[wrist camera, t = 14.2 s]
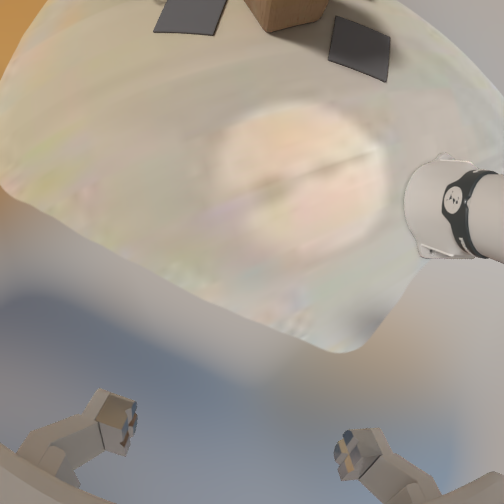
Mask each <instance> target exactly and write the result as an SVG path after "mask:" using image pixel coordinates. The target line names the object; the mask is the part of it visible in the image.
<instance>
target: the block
mask: <svg viewBox="0 0 504 504" xmlns="http://www.w3.org/2000/svg"><path fill="white" fill-rule="evenodd" d="M244 1H245V3H246V4H247V5H248V7H249V8H250V10H251V11H252V13H253V14H254V16H255V17H256V19H257V20H258V22H259V23H260V25H261V26H262V28H263V29H264V30H265V31H266V32H273V31H277V30H280V29H284V28H288V27H292V26H296V25H301V24H305V23H310V22H315V21H317V20H319V19H320V18H321V16H322V14H323V12H324V10H325V8H326V6H327V4H328V2H329V0H244Z"/></svg>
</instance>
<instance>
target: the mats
mask: <svg viewBox="0 0 504 504" xmlns="http://www.w3.org/2000/svg"><path fill="white" fill-rule="evenodd" d="M225 3H226V0H167V2H166V4H165V6H164V8H163V10H162V13H161V15H160V17H159V19H158V21H157V24H156V26H155V28H154V31H153V32H154V33H187V34H201V35H211V36H213V34H214V31H215V29H216V26H217V23H218V21H219V18H220V15H221V13H222V10H223V8H224V5H225ZM389 48H390V37H388V36H386V35H384V34H382V33H379V32H377V31H375V30H373V29H370V28H368V27H365V26H363V25H360V24H358V23H355V22H353V21H350V20H347V19H344V18H342V17H339V16H336V18H335V24H334V30H333V36H332V41H331V47H330V52H329V57H328V60H329V61H332V62H335V63H338V64H340V65H343V66H346V67H349V68H351V69H354V70H357V71H359V72H362V73H364V74H367V75H369V76H372V77H374V78H376V79H379V80H381V81H383V82H386V80H387V71H388V60H389Z"/></svg>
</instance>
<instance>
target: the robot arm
mask: <svg viewBox="0 0 504 504" xmlns="http://www.w3.org/2000/svg"><path fill="white" fill-rule="evenodd" d="M404 211H405V217H406V221H407V224H408V227H409V229H410V231H411V232H412V234H413V236H414V237H415V239H416V241H417V247H418V252H419V255H420V256H421V257H423V258H446V259H473V258H475V257H478V258H484V259H486V258H491V259H493V260H496V261H498V262H501V263H503V264H504V175H502V174H498V173H496V172H494V171H489V170H484V169H479V168H477V167H475V166H474V165H473V163H472V162H469V161H459V160H455V159H454V158H453V157H452V156H451V155H450V154H448V153H441V154H440V155H439V156H438V157H437V158H436V159H435V160H434V161H432V162H430V163H426V164H424V165H422V166H421V167H419V168H418V169H417V170H416V171H415V172H414V173H413V175H412V176H411V178H410V180H409V182H408V185H407V188H406V192H405V198H404ZM430 250H431V252H430ZM136 409H137V402H136V401H134V400H131V399H128V398H125V397H122V396H120V395H117V394H114V393H111V392H108V391H106V390H103V389H101V388H99V389H98V390H96V392H95V394H94V395H93V397H92V398H91V400H90V402H89V403H88V405H87V406H86V408H85V410H84V411H83V413H82V415H79V414H76V415H74V416H71V417H69V418H66V419H63V420H61V421H58V422H55V423H53V424H50V425H47V426H45V427H42V428H39V429H36V430H34V431H31V432H30V433H29V435H28V436H27V438H26V439H25V440H24V442H23V443H22V445H21V446H20V448H19V449H18V451H17V452H16V453H14V452H13V451H11V450H10V449H8V448H7V447H6V446H4V445H3V444H1V443H0V504H116V503H113V502H110V501H107V500H105V499H102V498H99V497H97V496H95V495H92V494H90V493H87V492H85V491H83V490H80V489H79V487H80V482H79V480H78V478H77V476H76V475H75V472H74V470H75V469H76V468H78V467H80V466H81V465H83V464H85V463H86V462H88V461H90V460H91V459H93V458H94V457H96V456H98V455H99V454H100V453H102V452H104V451H105V450H107V451H109V452H112V453H115V454H118V455H122V456H125V457H126V454H127V452H128V450H129V447H130V438H131V437H133V436H134V433H135V431H136V427H137V419H138V418H137V414H136V413H135V411H136ZM334 459H335V461H336V462H337V463H338V464H339V465H340V466H339V468H338V472H339V475H340V479H341V481H347V480H357V479H359V481H360V482H361V483H362V484H363V485H364V486H365V487H366V488H367V489H368V490H369V491H370V492H371V493H372V494H373V495H374V496H376V497H377V498H378V499H379V500H380V501H381V502H382V503H383V504H504V475H502V474H500V473H497V472H489V473H487V474H485V475H483V476H482V477H480V478H478V479H476V480H474V481H472V482H471V483H468V484H466V485H464V486H462V487H460V488H458V489H456V490H454V491H452V492H449V493H447V494H445V495H442V494H441V493H440V491H439V489H438V487H437V485H436V483H435V481H434V479H433V477H432V476H430V475H429V474H427V473H425V472H424V471H422V470H421V469H419V468H418V467H416V466H414V465H413V464H411V463H410V462H408V461H407V460H405V459H404V458H402V457H401V456H399V455H398V454H396V453H394V454H393V452H392V450H391V448H390V446H389V444H388V442H387V440H386V438H385V436H384V434H383V432H382V430H381V429H380V428H369V429H367V428H366V429H349V430H347V431H345V432H344V434H343V439H342V440H340V441H338V443H337V444H336V446H335V449H334Z"/></svg>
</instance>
